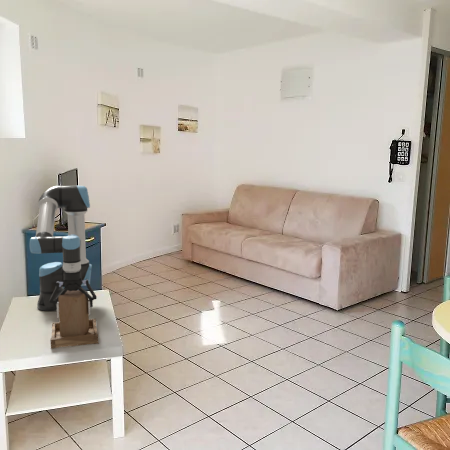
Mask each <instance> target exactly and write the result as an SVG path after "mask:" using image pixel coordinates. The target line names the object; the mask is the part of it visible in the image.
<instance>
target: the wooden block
mask: <svg viewBox="0 0 450 450" xmlns="http://www.w3.org/2000/svg"><path fill="white" fill-rule="evenodd" d="M85 291H86V292H87V293H88V294H89V292H88V290H85ZM58 300H59V318H58V320H59V321H58V322H59V323H60V337H71V336H81V335H85V334H86V333H87V332H88V331H89V319H90V318H89V316H90V315H89V312H88V300H89V299H88V298H87V297H86V296H85V294H83V293H82V292H81V291H79V290H77V291H68V290H67V292H66V293H65V294H64V295H60V296H59V297H58Z"/></svg>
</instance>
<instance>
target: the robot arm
mask: <svg viewBox="0 0 450 450" xmlns="http://www.w3.org/2000/svg"><path fill="white" fill-rule="evenodd" d="M37 202H38V203H37V207H38V209H39V211H38V217H37V225H36V231H35V236H33V237H31V238H29V251H30V253H31V254H39V255H41V254H42V255H43V254H44V255H45V254H62V262H60V261H54V262H48V263H45V264H43V265H41V266H40V267H39V269H38V270H39V271H38V272H39V274H38V277H39V296H38V299H37V304H36V305H37V309H38V310H39V311H44V312H49V311H50V312H52V311H56V317H57V319H59V300H58V297H59V296H60V295H64V294H65V293H66V292H67V290H68V291H77V290H79V291H81V292H82V293H83V294H85V296H86V297H87V298H88V312H89V316H90V315H91V308H93V306H94V305H93V303H94V300H97V295H96V292H95V291H94V290H93V287H92V285H91V276H92V267H93V264H91V263H90V260H89V259H87V254H86V253H87V252H86V248H87V247H86V221H85V220H86V218H85V216H86V215H85V214H86V213H88V209H89V208H91V203H90V196H89V192H88V188H87V187H86V186H85V185H54V186H51V187H50V188H47V189H46V190H45V191H43V193H42V194H41V195H40V197H39V199H38V201H37ZM58 209H63V210H64V213H65V214H66V215H67V226H68V227H67V228H68V229H67V232H68V234H67V235H64V236H54V232H55V231H54V229H55V219H56V211H57V210H58ZM83 286H84V287H85V286H86V288H87V290H88V291H89V292H88V291H87V290H85V289H84V288H83ZM86 291H87V292H88V293H87V292H86ZM89 293H90V294H91V295H90V294H89Z"/></svg>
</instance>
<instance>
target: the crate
mask: <svg viewBox="0 0 450 450" xmlns="http://www.w3.org/2000/svg"><path fill="white" fill-rule="evenodd" d="M95 344H100V343H99V333H98V329H97V318H91V319H90V318H89V331H88V332H87V333H86V334H85V335H81V336H71V337H60V323H59V321H58V322H56V321H55V322H51V337H50V349H57V348H58V349H59V348H66V347H75V346H77V347H78V346H85V345H95Z"/></svg>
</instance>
